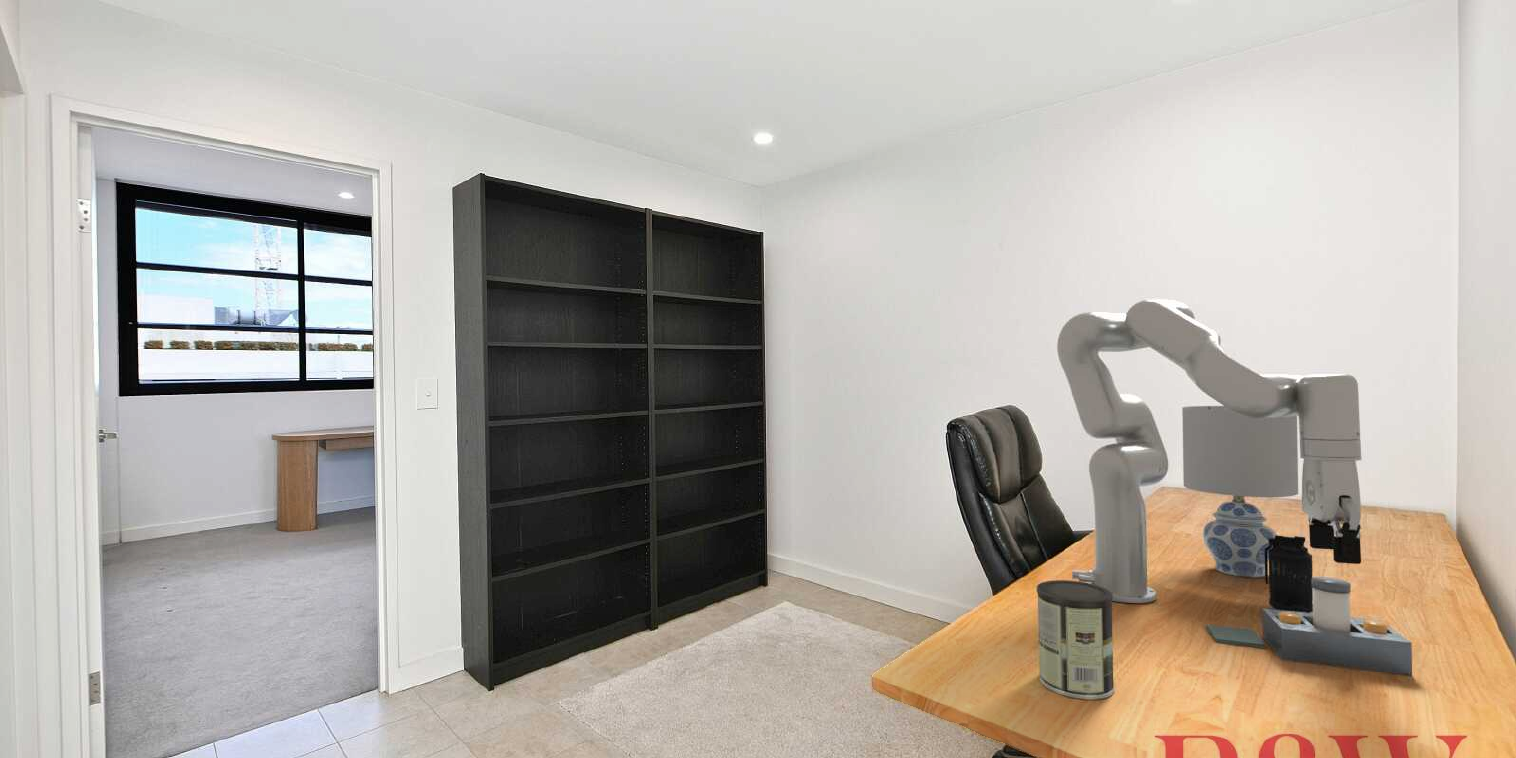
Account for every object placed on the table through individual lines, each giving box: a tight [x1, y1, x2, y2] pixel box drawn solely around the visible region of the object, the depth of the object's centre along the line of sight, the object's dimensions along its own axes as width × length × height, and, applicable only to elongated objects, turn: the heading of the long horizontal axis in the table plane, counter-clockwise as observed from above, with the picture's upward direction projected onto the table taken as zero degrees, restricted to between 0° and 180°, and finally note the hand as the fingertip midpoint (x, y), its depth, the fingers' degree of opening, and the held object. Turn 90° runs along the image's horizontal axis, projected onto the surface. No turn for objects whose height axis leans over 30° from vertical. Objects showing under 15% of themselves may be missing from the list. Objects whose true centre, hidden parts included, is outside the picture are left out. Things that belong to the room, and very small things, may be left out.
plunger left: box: [1279, 612, 1301, 624], centre depth 110 cm, size 3×3×5 cm
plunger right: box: [1363, 620, 1388, 633], centre depth 105 cm, size 3×3×5 cm
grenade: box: [1264, 534, 1313, 613], centre depth 126 cm, size 7×7×15 cm
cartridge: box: [1312, 576, 1352, 632], centre depth 108 cm, size 5×5×12 cm
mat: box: [1205, 624, 1266, 649], centre depth 115 cm, size 7×7×1 cm
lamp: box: [1181, 405, 1299, 578], centre depth 153 cm, size 22×22×38 cm
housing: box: [1261, 607, 1413, 677], centre depth 108 cm, size 16×10×5 cm, turn 67°
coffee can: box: [1036, 579, 1115, 701], centre depth 99 cm, size 10×10×14 cm
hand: (1334, 555), depth 107 cm, fingers open, 9 cm apart
